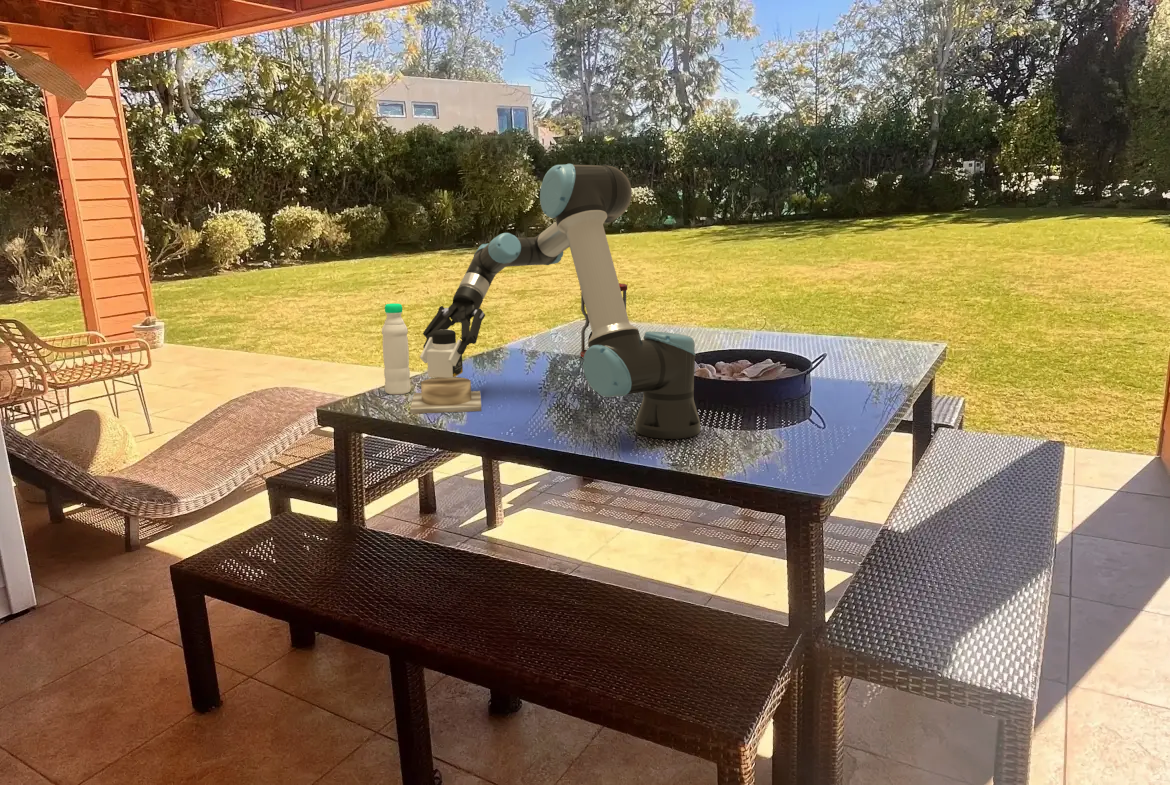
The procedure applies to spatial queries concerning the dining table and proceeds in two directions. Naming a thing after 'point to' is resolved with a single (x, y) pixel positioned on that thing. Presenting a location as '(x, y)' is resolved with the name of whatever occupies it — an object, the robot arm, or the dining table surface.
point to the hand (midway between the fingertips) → (437, 361)
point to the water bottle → (395, 351)
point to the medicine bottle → (443, 355)
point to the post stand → (446, 396)
